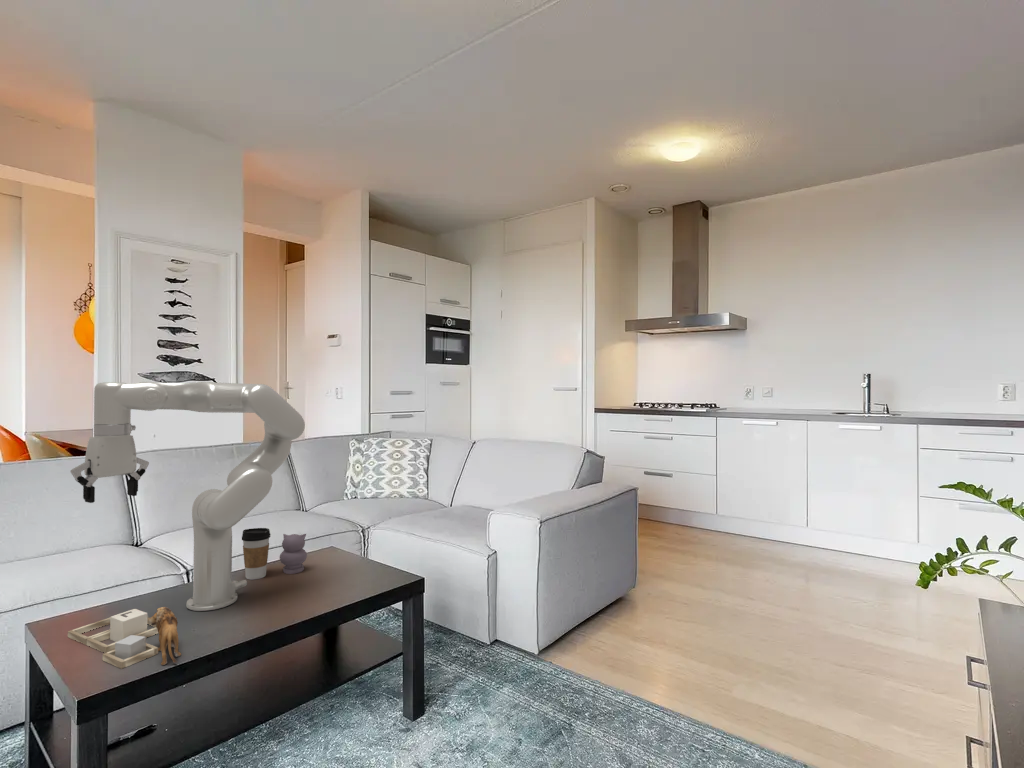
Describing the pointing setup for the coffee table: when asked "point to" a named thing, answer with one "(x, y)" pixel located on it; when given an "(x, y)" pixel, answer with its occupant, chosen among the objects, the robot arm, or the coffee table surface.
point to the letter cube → (127, 624)
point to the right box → (77, 633)
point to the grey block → (130, 646)
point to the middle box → (96, 642)
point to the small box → (121, 663)
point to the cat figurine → (293, 553)
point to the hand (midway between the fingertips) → (111, 498)
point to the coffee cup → (255, 552)
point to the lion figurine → (166, 632)
